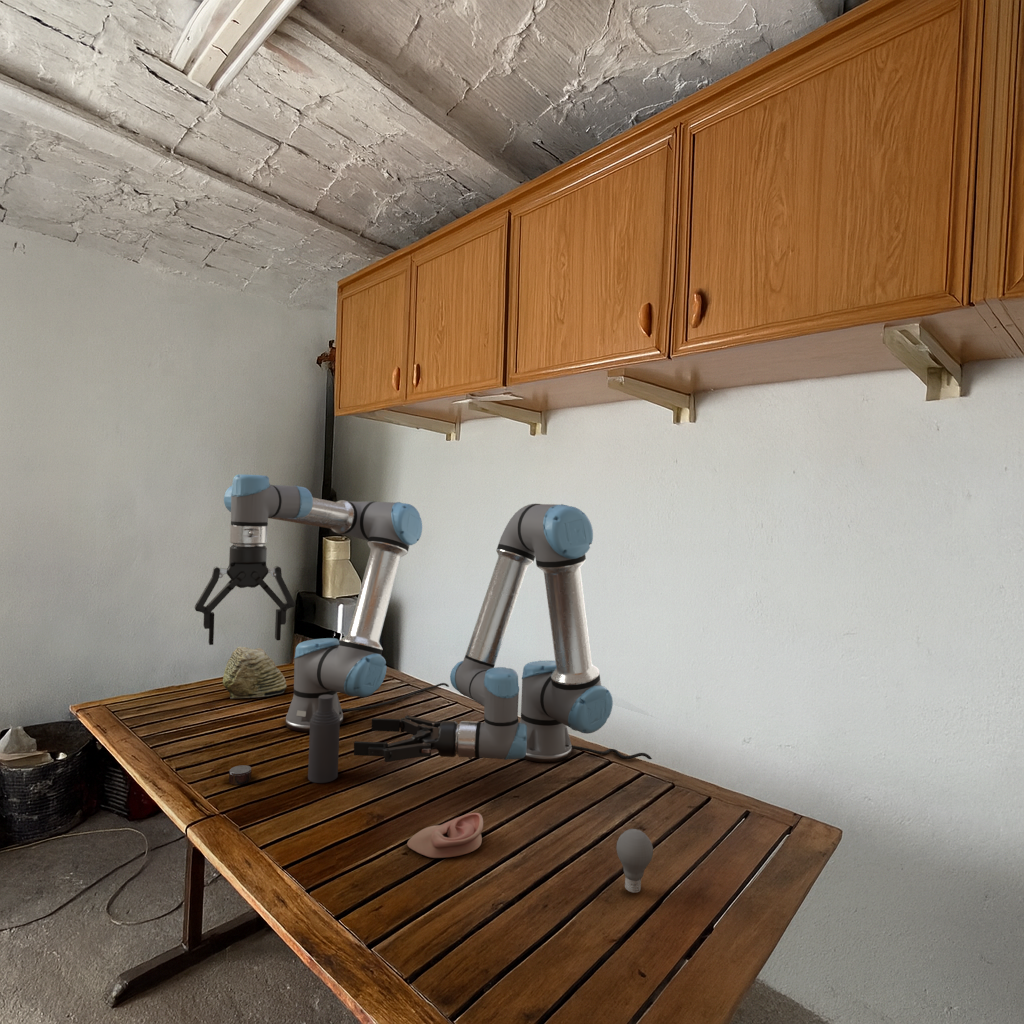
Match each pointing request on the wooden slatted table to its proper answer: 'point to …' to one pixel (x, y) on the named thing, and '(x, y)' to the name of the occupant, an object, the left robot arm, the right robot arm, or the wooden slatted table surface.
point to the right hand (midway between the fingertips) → (363, 735)
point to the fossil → (252, 674)
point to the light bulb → (634, 857)
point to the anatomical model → (449, 837)
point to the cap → (240, 774)
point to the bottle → (324, 742)
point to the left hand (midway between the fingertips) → (245, 641)
